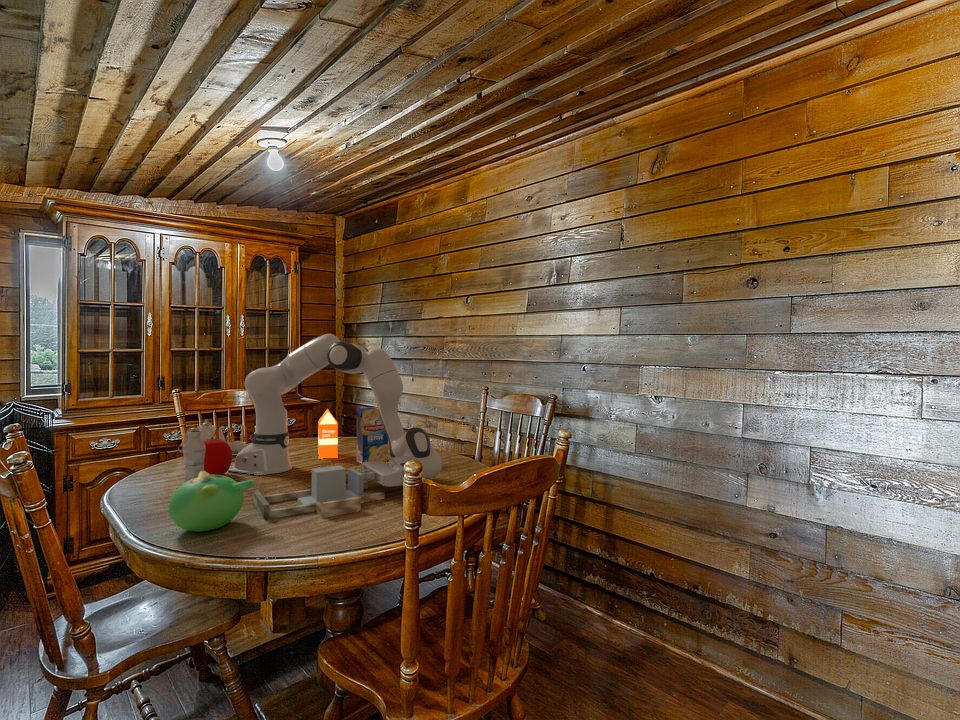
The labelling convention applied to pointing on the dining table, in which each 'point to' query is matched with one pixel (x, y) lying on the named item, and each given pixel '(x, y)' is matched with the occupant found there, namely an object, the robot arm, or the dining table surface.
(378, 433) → the blue food box
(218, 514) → the toy bird
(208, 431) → the chinaware
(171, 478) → the dining table surface
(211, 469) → the tomato
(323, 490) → the bookend block
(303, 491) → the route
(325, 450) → the orange juice
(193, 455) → the plastic bottle
